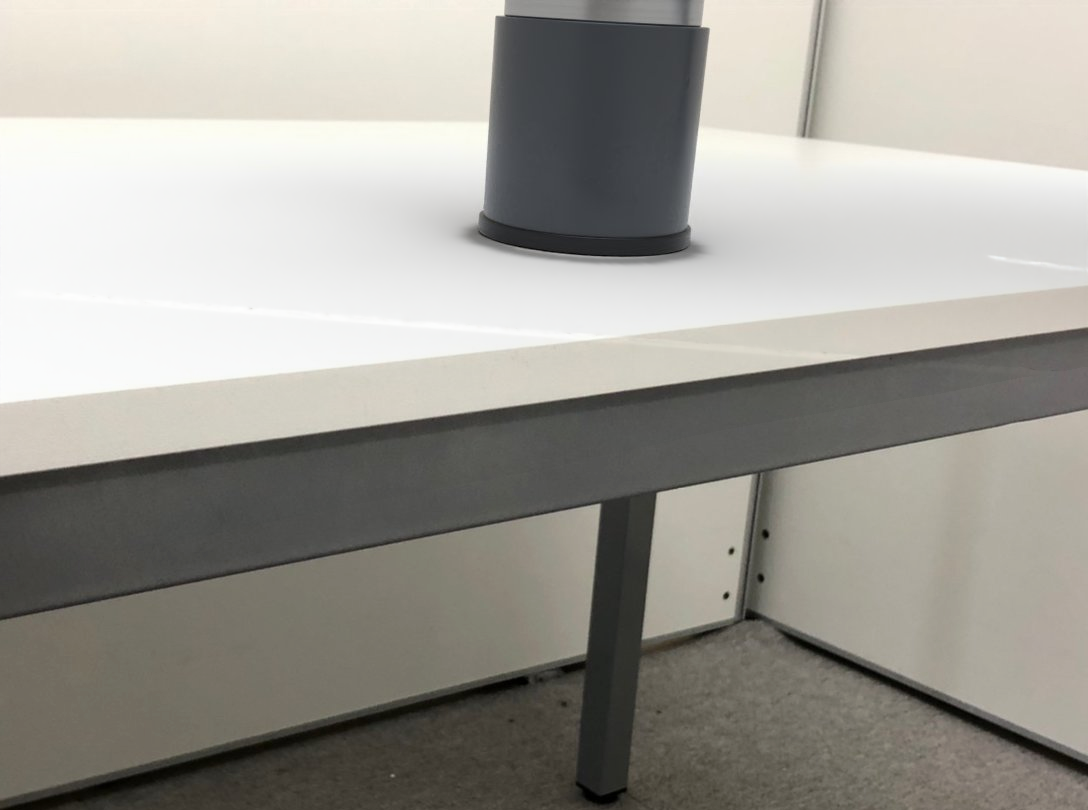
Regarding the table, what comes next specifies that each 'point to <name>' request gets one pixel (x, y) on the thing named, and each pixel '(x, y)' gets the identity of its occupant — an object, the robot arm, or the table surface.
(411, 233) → the table surface
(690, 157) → the dark grey upright cylinder
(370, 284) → the table surface
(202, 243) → the table surface
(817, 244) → the table surface
